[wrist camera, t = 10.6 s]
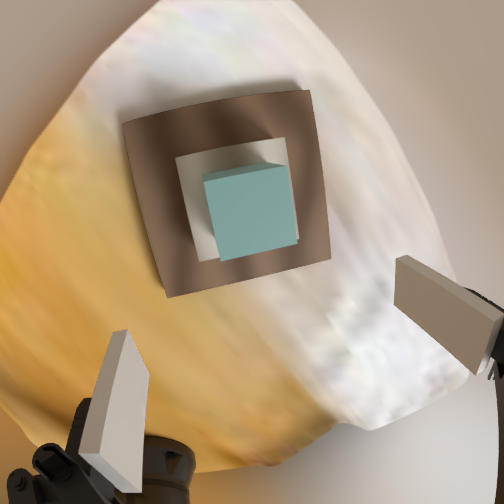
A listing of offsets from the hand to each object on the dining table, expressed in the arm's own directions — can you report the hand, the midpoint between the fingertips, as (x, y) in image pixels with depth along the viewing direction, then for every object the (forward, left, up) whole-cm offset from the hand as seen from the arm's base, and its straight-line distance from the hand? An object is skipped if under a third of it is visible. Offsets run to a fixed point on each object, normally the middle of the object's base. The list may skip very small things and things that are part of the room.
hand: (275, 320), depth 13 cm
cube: (+1, +2, -16) cm, 16 cm away
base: (+1, +3, -21) cm, 21 cm away
